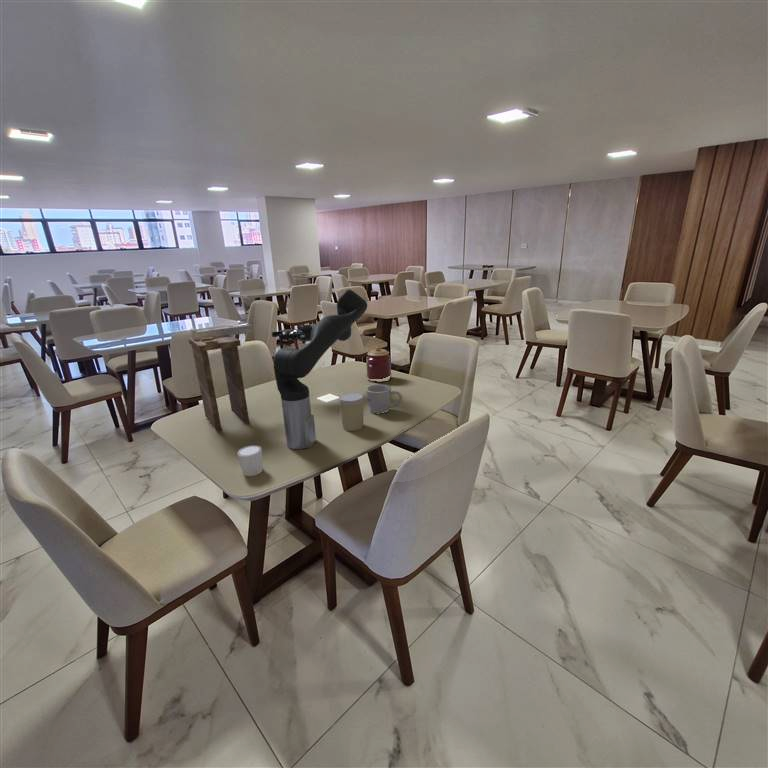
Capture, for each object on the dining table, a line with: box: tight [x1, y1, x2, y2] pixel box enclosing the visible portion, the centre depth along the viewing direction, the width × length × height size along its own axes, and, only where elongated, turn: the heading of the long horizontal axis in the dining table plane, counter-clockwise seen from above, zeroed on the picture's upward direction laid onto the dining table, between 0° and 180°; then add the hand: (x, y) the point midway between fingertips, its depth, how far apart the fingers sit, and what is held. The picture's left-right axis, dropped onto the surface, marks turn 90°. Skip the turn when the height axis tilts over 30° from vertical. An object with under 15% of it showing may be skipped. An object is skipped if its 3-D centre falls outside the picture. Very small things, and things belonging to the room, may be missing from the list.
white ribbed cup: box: [237, 445, 263, 477], centre depth 113 cm, size 7×7×7 cm
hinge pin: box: [190, 324, 253, 340], centre depth 149 cm, size 22×4×4 cm, turn 126°
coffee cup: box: [337, 392, 365, 432], centre depth 140 cm, size 9×9×12 cm
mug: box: [365, 383, 403, 414], centre depth 154 cm, size 10×15×10 cm
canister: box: [365, 346, 392, 379], centre depth 196 cm, size 13×13×18 cm
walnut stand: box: [188, 335, 250, 432], centre depth 148 cm, size 14×20×34 cm
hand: (275, 335), depth 162 cm, fingers open, 8 cm apart
